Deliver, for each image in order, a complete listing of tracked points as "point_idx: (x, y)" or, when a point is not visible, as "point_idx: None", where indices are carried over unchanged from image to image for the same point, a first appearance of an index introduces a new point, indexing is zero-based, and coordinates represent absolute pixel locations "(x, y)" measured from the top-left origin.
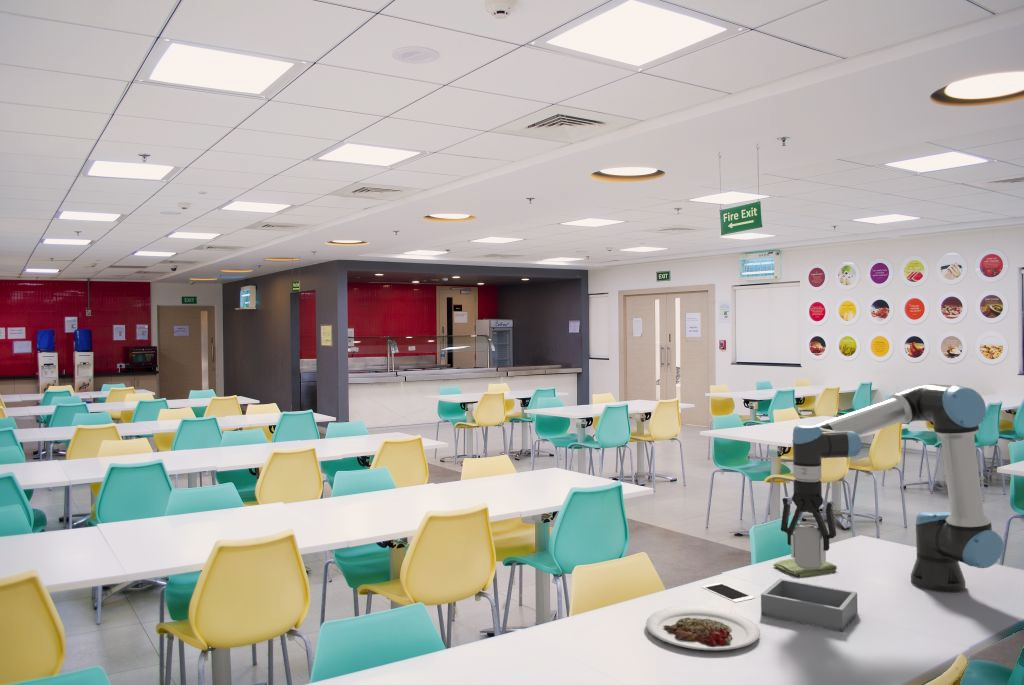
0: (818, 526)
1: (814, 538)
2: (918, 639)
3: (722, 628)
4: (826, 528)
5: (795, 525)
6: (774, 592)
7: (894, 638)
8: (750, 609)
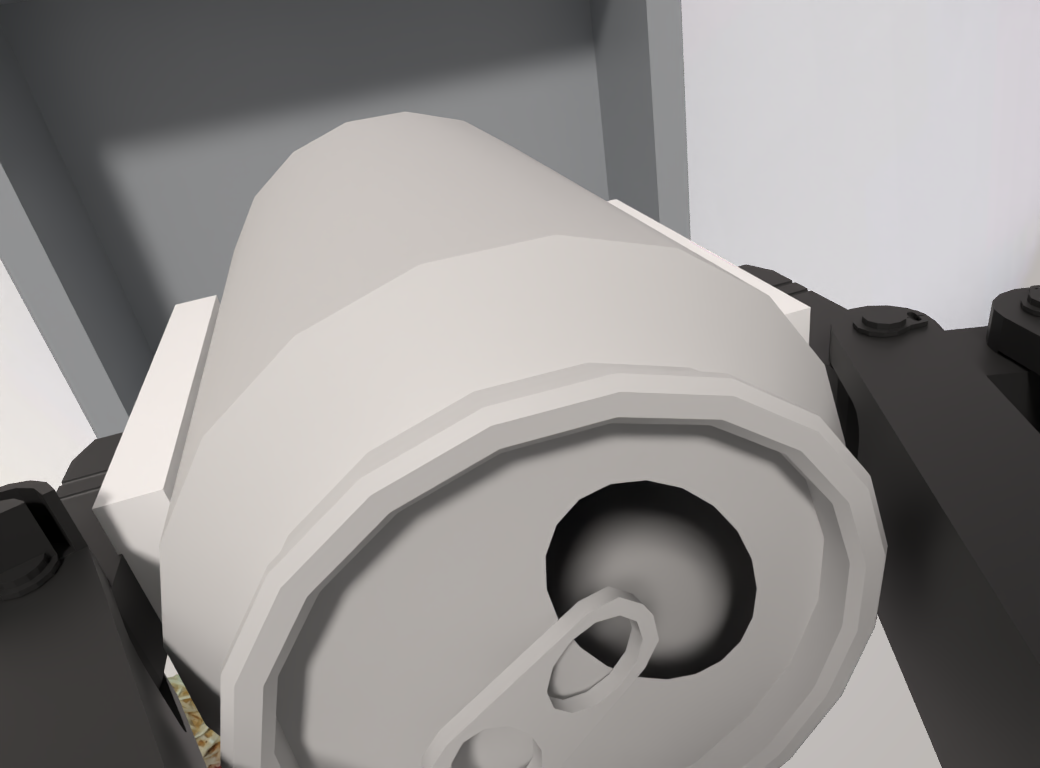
0: (911, 687)
1: (700, 600)
2: (957, 90)
3: (213, 744)
4: (1012, 424)
5: (176, 748)
6: (74, 267)
7: (858, 173)
8: (27, 393)
